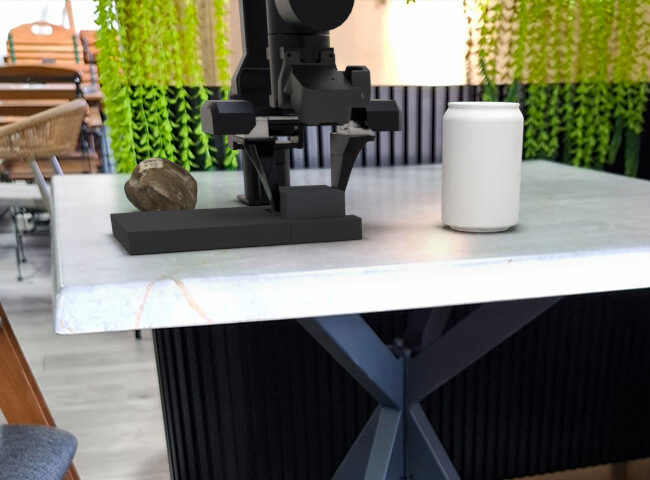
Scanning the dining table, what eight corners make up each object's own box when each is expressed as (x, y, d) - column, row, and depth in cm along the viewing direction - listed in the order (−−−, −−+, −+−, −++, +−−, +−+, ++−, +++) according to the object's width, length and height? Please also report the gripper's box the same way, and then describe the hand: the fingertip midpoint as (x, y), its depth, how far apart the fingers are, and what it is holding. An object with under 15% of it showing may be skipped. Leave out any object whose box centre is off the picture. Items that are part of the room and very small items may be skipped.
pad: (271, 222, 92) (269, 187, 91) (326, 219, 94) (325, 184, 93) (288, 231, 87) (286, 193, 86) (346, 227, 89) (345, 191, 88)
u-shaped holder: (112, 234, 89) (109, 213, 88) (322, 221, 97) (321, 202, 96) (130, 255, 79) (127, 231, 78) (362, 239, 87) (362, 217, 87)
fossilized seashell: (123, 186, 104) (111, 213, 96) (147, 135, 102) (136, 158, 93) (184, 219, 107) (177, 248, 99) (208, 170, 105) (203, 196, 97)
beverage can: (460, 235, 90) (463, 104, 84) (429, 223, 96) (430, 101, 91) (531, 231, 92) (539, 104, 87) (496, 219, 99) (501, 101, 94)
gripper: (219, 30, 73) (235, 227, 80) (425, 35, 80) (424, 215, 87) (191, 34, 82) (207, 210, 89) (379, 38, 89) (381, 201, 96)
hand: (307, 209), depth 90 cm, fingers closed on pad, 6 cm apart
